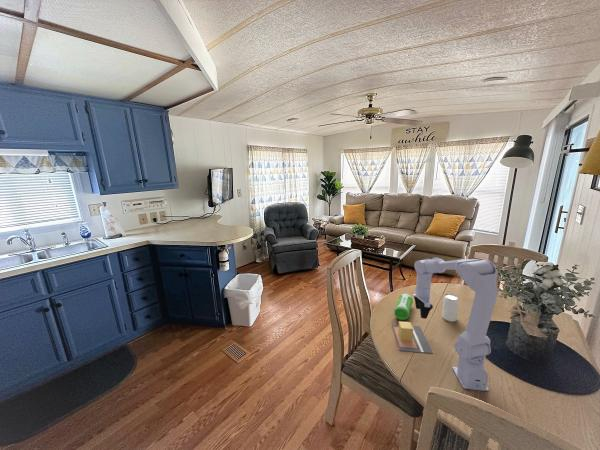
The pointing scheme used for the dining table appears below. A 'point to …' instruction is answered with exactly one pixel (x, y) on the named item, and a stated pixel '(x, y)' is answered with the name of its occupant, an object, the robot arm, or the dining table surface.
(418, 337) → the mat
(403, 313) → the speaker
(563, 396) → the dining table surface
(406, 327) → the block
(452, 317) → the can
